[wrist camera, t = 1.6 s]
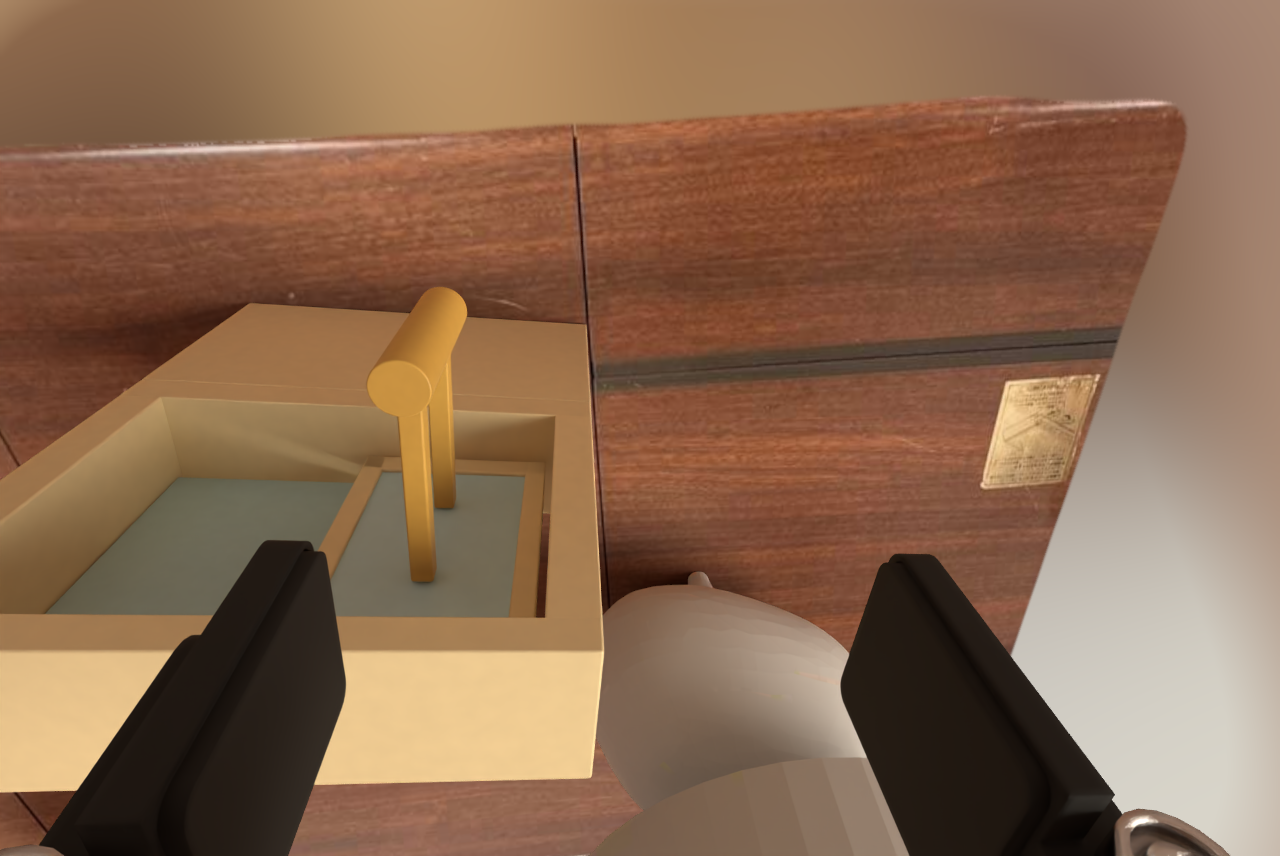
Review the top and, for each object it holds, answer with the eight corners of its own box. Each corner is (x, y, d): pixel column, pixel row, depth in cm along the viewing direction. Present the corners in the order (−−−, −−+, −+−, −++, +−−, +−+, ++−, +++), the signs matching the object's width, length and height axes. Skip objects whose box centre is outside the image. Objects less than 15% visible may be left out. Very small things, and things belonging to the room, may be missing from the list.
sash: (346, 263, 23) (189, 393, 14) (552, 278, 24) (539, 410, 14) (369, 473, 27) (261, 685, 18) (545, 479, 28) (531, 684, 19)
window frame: (249, 302, 35) (-247, 651, 14) (586, 324, 37) (604, 652, 16) (265, 387, 37) (-138, 797, 16) (581, 402, 39) (591, 779, 18)
